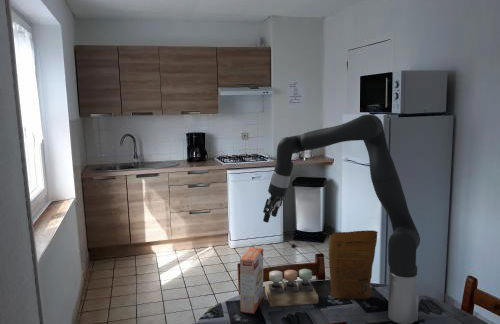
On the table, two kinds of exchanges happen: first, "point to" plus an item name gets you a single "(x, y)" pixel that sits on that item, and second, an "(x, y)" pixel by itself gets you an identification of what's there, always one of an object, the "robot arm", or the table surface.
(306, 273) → the pale green ball
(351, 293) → the pancake mix bag
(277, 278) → the white round piece
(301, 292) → the tan slotted panel
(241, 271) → the cracker box
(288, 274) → the peach ball
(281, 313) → the table surface
